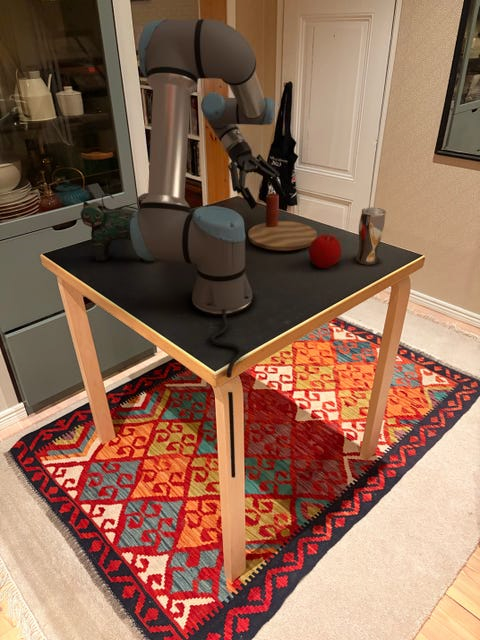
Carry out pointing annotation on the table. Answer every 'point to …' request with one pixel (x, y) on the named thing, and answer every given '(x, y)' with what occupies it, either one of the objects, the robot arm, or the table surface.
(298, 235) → the wooden round stand
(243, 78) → the robot arm
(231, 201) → the table surface
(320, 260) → the fruit
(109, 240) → the ceramic cat
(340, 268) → the table surface
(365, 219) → the beer glass
